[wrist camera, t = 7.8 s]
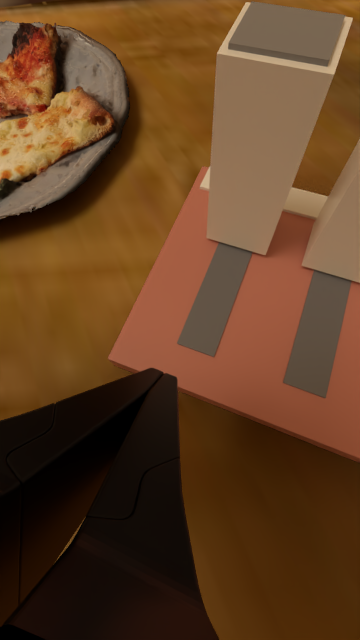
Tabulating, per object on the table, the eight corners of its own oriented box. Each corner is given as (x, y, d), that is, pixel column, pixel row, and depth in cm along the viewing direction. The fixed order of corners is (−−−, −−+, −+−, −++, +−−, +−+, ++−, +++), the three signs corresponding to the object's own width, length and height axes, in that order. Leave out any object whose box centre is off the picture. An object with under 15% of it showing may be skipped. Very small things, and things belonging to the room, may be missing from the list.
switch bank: (496, 517, 13) (539, 528, 12) (114, 365, 17) (105, 357, 15) (501, 263, 18) (533, 244, 16) (202, 184, 21) (202, 162, 20)
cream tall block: (265, 255, 17) (336, 68, 8) (206, 237, 18) (217, 47, 9) (279, 215, 18) (355, 11, 9) (222, 199, 19) (247, -5, 10)
